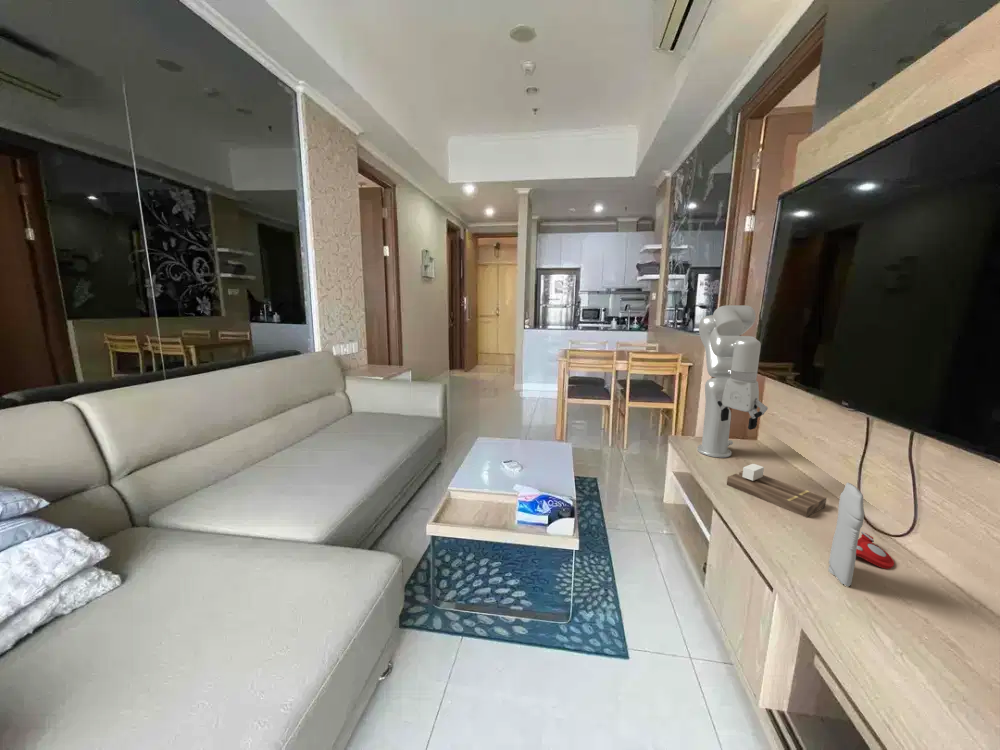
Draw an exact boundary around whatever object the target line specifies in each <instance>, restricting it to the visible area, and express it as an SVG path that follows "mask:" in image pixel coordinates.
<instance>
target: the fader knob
mask: <svg viewBox="0 0 1000 750" xmlns="http://www.w3.org/2000/svg"><path fill="white" fill-rule="evenodd" d="M764 470H765V467H764V466H761V465H759V464H756V463H751V464H748V465H746V466H743V468H742V471H743V475H742V477H744V478H747V479H749V480H752V481H755V480H756V479H759V478H761V477H763V475H764Z"/></svg>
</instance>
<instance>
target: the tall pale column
mask: <svg viewBox="0 0 1000 750" xmlns="http://www.w3.org/2000/svg"><path fill="white" fill-rule="evenodd" d="M863 495H864V494H863V493H862V491H860V490H859V488H858V487H856V486H855V485H853V484H852V483H850V482H846V484H845V486H844V489H843V491H842V492H841V493H840V496H839V501H838V509H837V510H838V512H837V520H836V526H835V532H834V534H833V537H832V538H833V539H832V542H831V549H830V554H829V559H828V564H830V565H829V566H828V572H829V573H830V574H831V573H832V574H833V576H834V575H835V576H836V577H837V578H838V579H837V578H836V577H835V576H834V577H835V578H836V579H837V580H839V581H840V582H841V583H842V584H844V585H846V586H850V585H852V583H853V576H854V569H855V567H856V566H855V565H856V559H857V556H856V549H857V542H858V539H859V538H860V537H859V536H860V533H861V529H862V527H863V525H864V524H863V523H864V519H865V510H864V496H863ZM832 574H831V575H832ZM839 581H838V582H839ZM840 582H839V583H840ZM841 583H840V584H841ZM842 584H841V585H842ZM844 585H843V586H844ZM846 586H845V587H846ZM850 587H851V586H850Z"/></svg>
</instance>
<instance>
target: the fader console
mask: <svg viewBox="0 0 1000 750" xmlns="http://www.w3.org/2000/svg"><path fill="white" fill-rule="evenodd" d="M742 475H743V470H742V471H740V472H738V473H734V474H731V475H729V476H727V478H726V486H728V487H730V488H734V489H736V490H738V491H741V492H743V493H746V494H748V495H751V496H753V497H755V498H758V499H760V500H763V501H765V502H768V503H770V504H773V505H775V506H778V507H780V508H782V509H784V510H786V511H790V512H792V513H795V514H797V515H800V516H802V517H805V518H807V517H809V516H812V515H813V514H815V513H816V512H819V511H820V510H821V509H823V508H826V504H827V497H826V496H823V495H820V494H818V493H815V492H812V491H811V490H806V489H804V488H801V487H798V486H795V485H793V484H789V483H787V482H784V481H782V480H779V479H776V478H773V477H771V476H767V475H764V474H763V477H761V478H759V479H756V480H755V481H752V480H749V479H747V478H744V477H742Z"/></svg>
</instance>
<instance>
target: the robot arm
mask: <svg viewBox="0 0 1000 750" xmlns="http://www.w3.org/2000/svg"><path fill="white" fill-rule="evenodd" d="M756 318H757V316H756V311H755V309H754V308H753V307H752V306H750V305H743V304H742V305H727V304H726V305H721V306H719V307H717V308H716V309H715V310H714V311H713V314H711V315H706V316H703V317H701V319H700V321H699V323H698V332H699V333H698V334H699V338H700V340H701V342H702V345H703V347H704V351H705V359H706V369H707V370H706V371H707V374H708V376H710V377H711V378H709V379H707V380H706V381H705V384H704V396H705V407H704V419H703V428H702V438H701V444H699V445H697V447H696V448H697V451H698V452H699V453H700V454H703V455H704V456H708V457H711V458H712V457H713V458H719V459H720V458H721V459H722V458H723V459H725V458H729V457H731V456H732V451H731V449H729V446H731V445H733V444H734V443H733V441H732V440H731V439H730V438H729V437H730V431H731V430H730V429H731V420H732V410H731V409H733V410H737V411H741V412H745V413H748V414H749V416H750V417H749V418H748V424H747V425H748V426H747V430H750V431H751V430H754V429H756V428H757V427H758V418H760V417H761V416H763V415H764V414H765V413H766V411H767V410H768V409H769V408H768V406H767V405H765V404H764V403H762V402H761V401H760V399H759V398H760V397H759V396H760V391H759V390H760V389H759V387H760V386H759V381H757V377H758V370H759V362H760V354H761V345H762V343H761V341H760V340H758V339H757V338H756V337H755V336H751V335H750V336H749V335H744V334H745V333H746V332H747V331H749V329H750V328H752V327H753V325H754V324H755V321H756ZM758 408H759V411H758Z"/></svg>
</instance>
